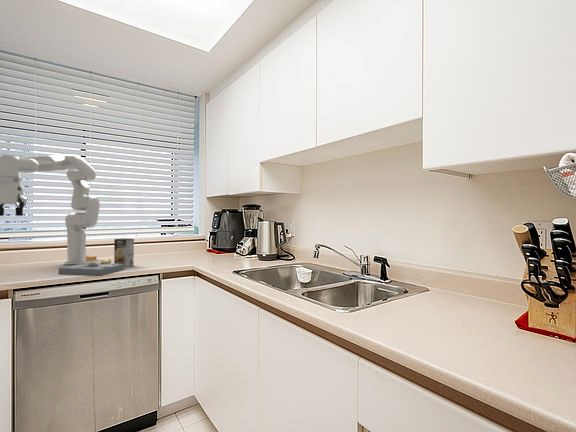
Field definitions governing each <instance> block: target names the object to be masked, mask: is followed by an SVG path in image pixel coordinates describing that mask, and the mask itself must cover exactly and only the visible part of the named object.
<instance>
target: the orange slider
mask: <svg viewBox="0 0 576 432" xmlns="http://www.w3.org/2000/svg"><path fill="white" fill-rule="evenodd" d="M87 256H88V255H87ZM92 260H97V256H96V255H91V256H88V257H86V262H87V261H92Z"/></svg>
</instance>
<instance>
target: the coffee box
mask: <svg viewBox="0 0 576 432" xmlns="http://www.w3.org/2000/svg"><path fill="white" fill-rule="evenodd" d="M113 250H114V253H113V255H114V257H113V258H114V260H113V261H114V263H113V264H125V268H127V266H128V267H132V266H131V265H133V266H134V261H135V259H134V258H135V256H134V255H135V253H134V252H135V238H124V237H123V238H114V249H113Z"/></svg>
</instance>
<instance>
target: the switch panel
mask: <svg viewBox="0 0 576 432" xmlns="http://www.w3.org/2000/svg"><path fill="white" fill-rule="evenodd" d="M123 269H125V270H126V267H125V264H114V263H110V264H101V262H96V263H91V264H85V263H83V264H71V265H69V266H68V265H67V266H63V267H58V274H59V275H74V274H77V275H79V276H81V275H82V276H103V275H107V274H112V273H115V272H119V271H120V270H121V271H124V270H123ZM77 275H76V276H77Z"/></svg>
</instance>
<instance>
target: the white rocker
mask: <svg viewBox="0 0 576 432" xmlns="http://www.w3.org/2000/svg"><path fill="white" fill-rule="evenodd" d="M91 263H101V260H100V259H97V258H96V260H92V261H87V262H85V264H91Z"/></svg>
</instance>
